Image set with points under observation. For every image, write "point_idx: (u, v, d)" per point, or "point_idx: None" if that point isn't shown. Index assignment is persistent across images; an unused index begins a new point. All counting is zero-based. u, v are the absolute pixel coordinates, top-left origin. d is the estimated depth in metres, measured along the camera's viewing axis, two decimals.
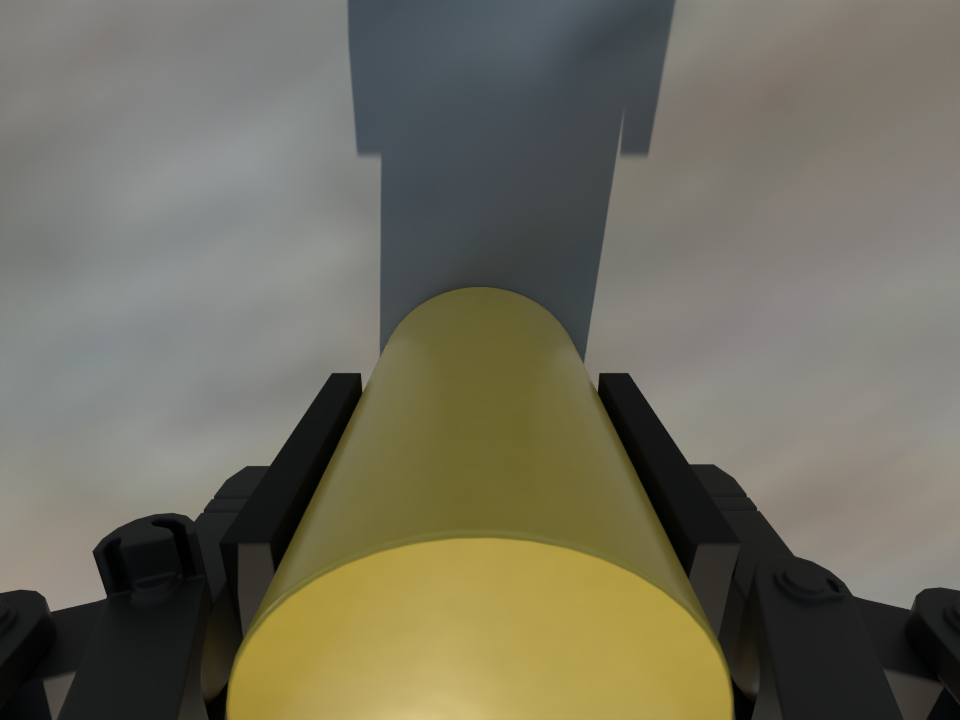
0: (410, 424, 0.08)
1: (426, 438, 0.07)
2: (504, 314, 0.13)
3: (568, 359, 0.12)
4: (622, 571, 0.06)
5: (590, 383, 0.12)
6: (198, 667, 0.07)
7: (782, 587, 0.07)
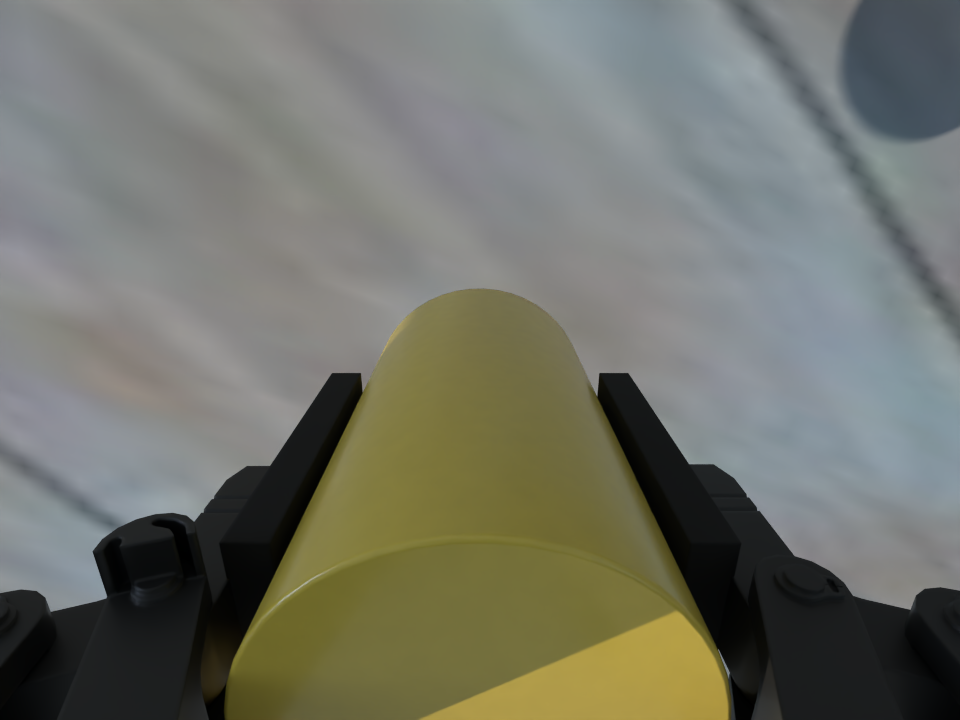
0: (409, 427, 0.08)
1: (424, 442, 0.07)
2: (503, 316, 0.13)
3: (567, 361, 0.12)
4: (620, 576, 0.06)
5: (589, 385, 0.12)
6: (198, 667, 0.07)
7: (782, 587, 0.07)
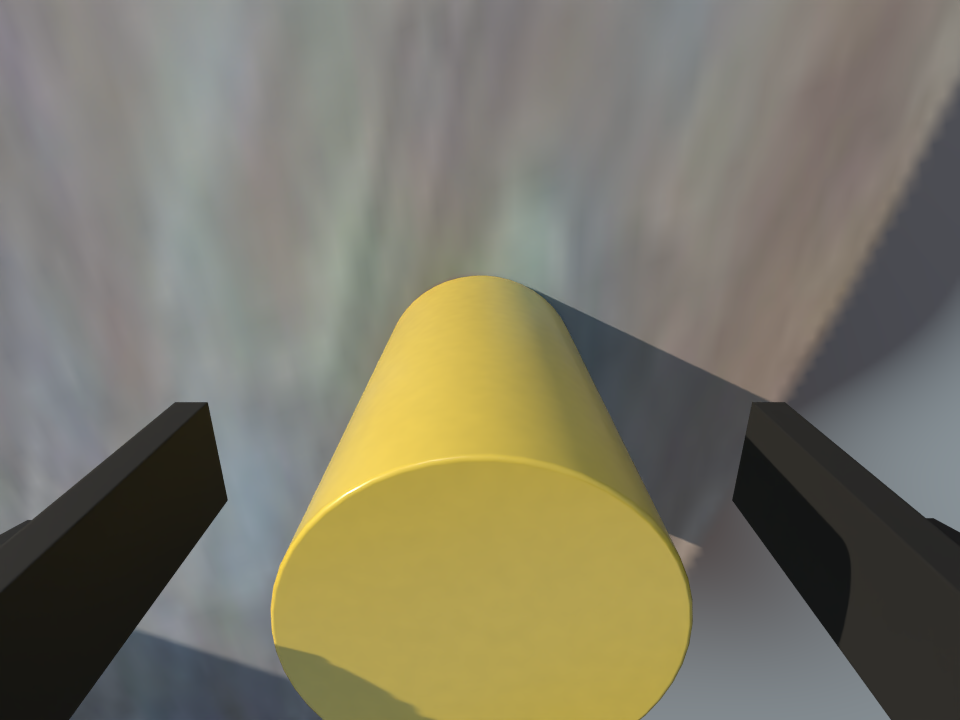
0: (421, 384, 0.09)
1: (435, 393, 0.09)
2: (502, 299, 0.14)
3: (560, 338, 0.13)
4: (596, 490, 0.07)
5: (580, 359, 0.13)
6: None
7: None
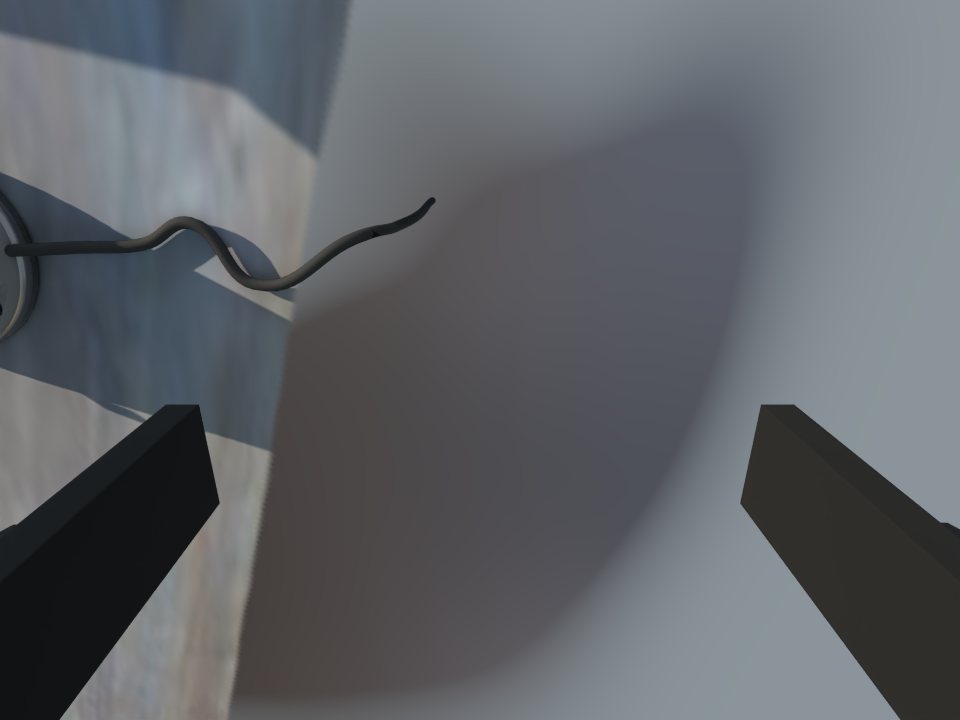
0: None
1: None
2: None
3: None
4: None
5: None
6: None
7: None
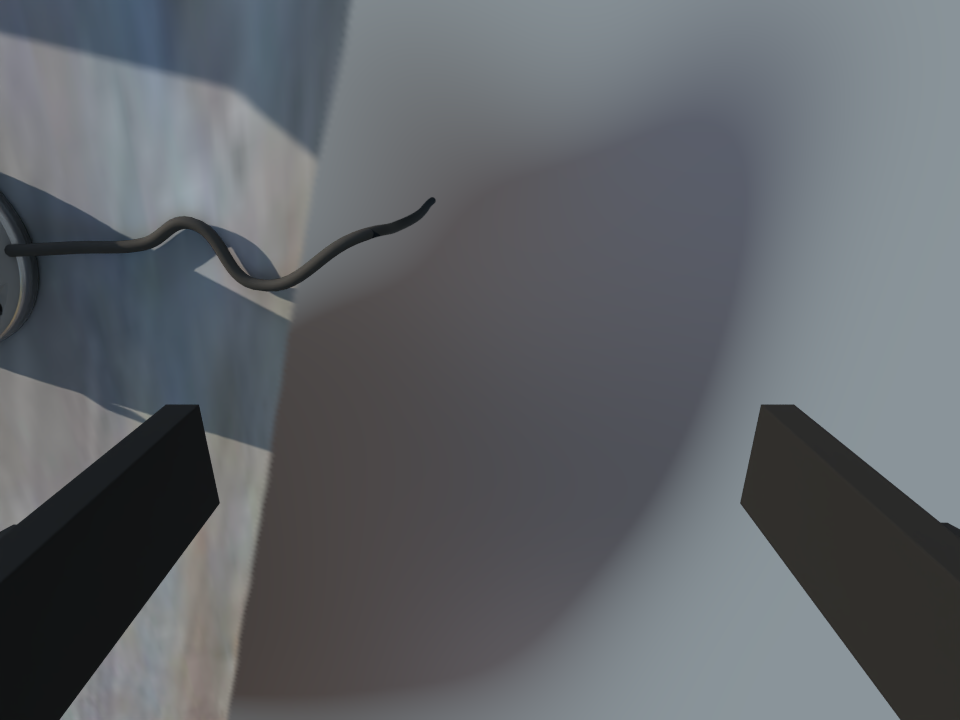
0: None
1: None
2: None
3: None
4: None
5: None
6: None
7: None
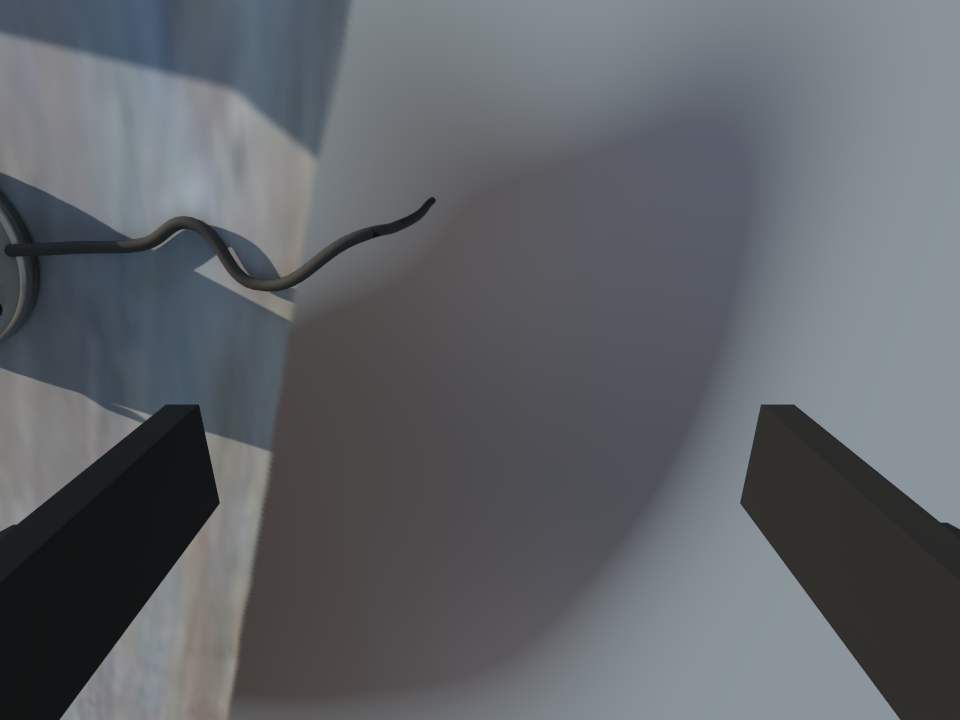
0: None
1: None
2: None
3: None
4: None
5: None
6: None
7: None
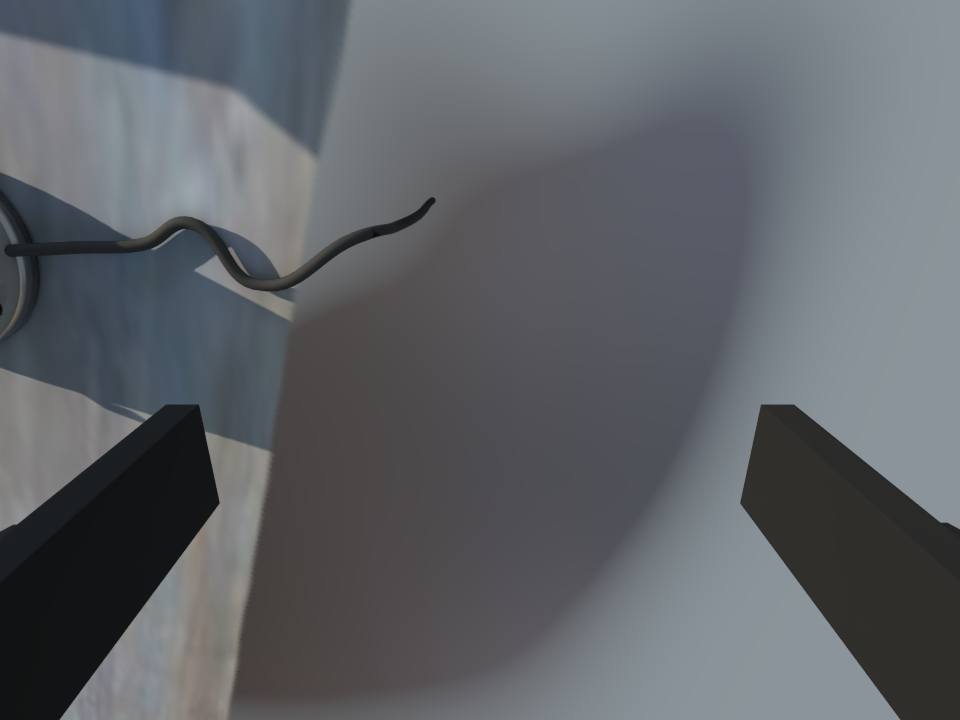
0: None
1: None
2: None
3: None
4: None
5: None
6: None
7: None
